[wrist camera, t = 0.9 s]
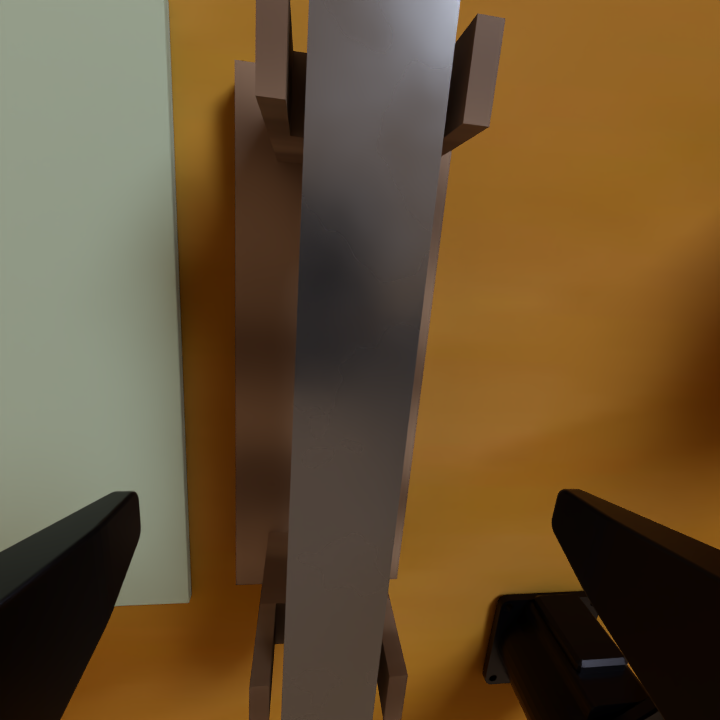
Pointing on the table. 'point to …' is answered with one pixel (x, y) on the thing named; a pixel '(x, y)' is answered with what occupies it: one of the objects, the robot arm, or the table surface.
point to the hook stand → (279, 312)
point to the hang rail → (358, 330)
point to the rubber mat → (91, 279)
